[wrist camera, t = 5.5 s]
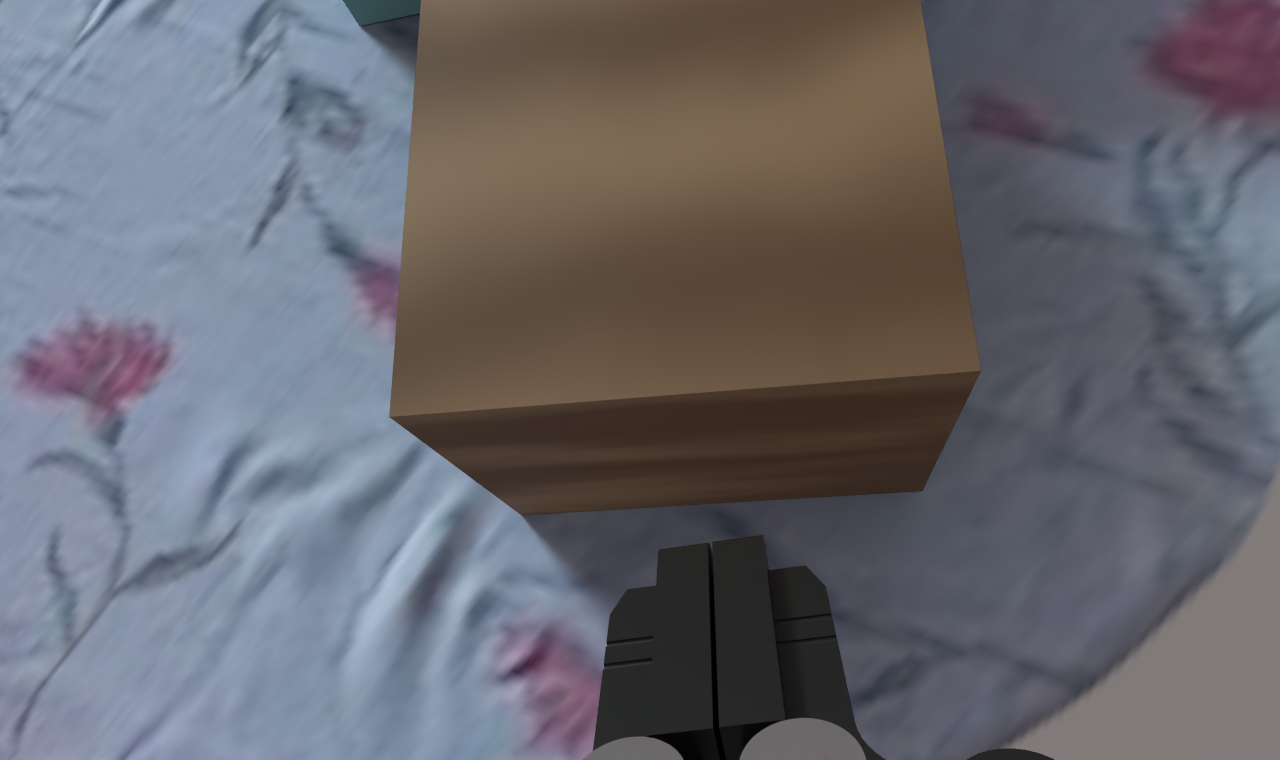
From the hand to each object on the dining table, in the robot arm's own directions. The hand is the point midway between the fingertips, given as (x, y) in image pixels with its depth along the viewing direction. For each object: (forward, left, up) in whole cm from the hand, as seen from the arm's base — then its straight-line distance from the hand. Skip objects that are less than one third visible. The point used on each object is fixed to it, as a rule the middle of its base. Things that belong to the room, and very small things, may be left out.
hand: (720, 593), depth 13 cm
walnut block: (+8, +9, -14) cm, 18 cm away
